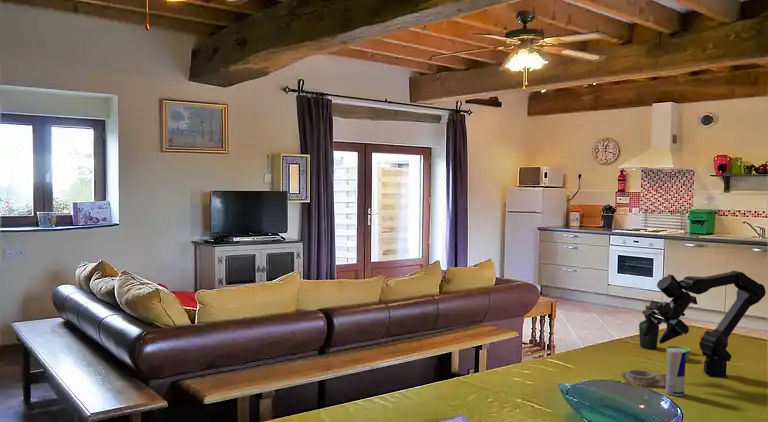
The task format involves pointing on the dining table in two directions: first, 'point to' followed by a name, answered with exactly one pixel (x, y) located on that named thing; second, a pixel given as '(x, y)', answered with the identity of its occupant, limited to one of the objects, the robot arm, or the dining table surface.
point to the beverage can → (675, 371)
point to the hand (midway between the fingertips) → (651, 339)
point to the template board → (645, 378)
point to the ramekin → (682, 349)
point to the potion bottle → (652, 338)
